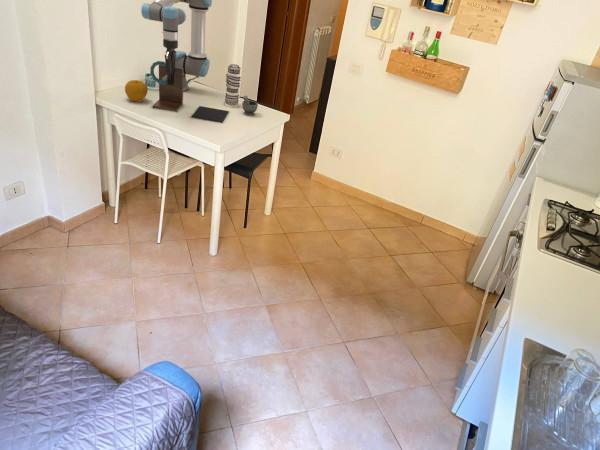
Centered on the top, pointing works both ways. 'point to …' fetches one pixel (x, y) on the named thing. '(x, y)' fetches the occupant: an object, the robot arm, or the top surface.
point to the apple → (136, 90)
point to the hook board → (170, 91)
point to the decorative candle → (232, 85)
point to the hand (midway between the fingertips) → (170, 84)
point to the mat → (210, 114)
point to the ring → (154, 74)
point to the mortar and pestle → (249, 106)
